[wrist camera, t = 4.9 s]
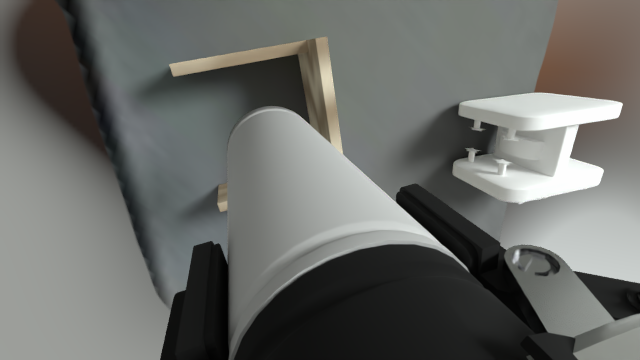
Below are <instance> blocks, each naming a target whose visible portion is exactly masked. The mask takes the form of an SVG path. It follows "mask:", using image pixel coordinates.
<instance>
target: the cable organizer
mask: <svg viewBox="0 0 640 360" xmlns="http://www.w3.org/2000/svg"><path fill="white" fill-rule="evenodd" d="M622 105H623V104H622V103H620V102H616V101H610V100H601V99H593V98H584V97H576V96H568V95H567V96H566V95H559V94H551V93H528V94H520V95H511V96H503V97H495V98H487V99H479V100H470V101H465V102H461V103H460V104H459V112H458V115H460V116H463V117H466V118H470V119H474V120H475V121H474V128H472V127H469V128H472V129H471V130H478V131H482V130H487V129H480V125H481V121H482V122H486V123H489V124H493V125H497V126H498V130H497V136H496V142H495V148H494V153H491V154H485V155H480V156H475V152H476V153H477V151H480V150H476V149H474V148H465V149H468V150H466V151H469V155H468V158H462V159H458V160H456V161H454V163H453V172H452V174H453V175H454V176H455V177H457V178H459V179H461V180H463V181H465V182H467V183H468V184H470V185H472V186H474V187H476V188H478V189H480V190H482V191H484V192H485V193H487V194H489V195H491V196H493V197H495V198H497V199H499V200H502V201H506V202H517V203H518V204H522V203H524V202H526V201H531V200H536V199H538V200H540V199H541V198H547V197H549V196H553V195H558V194H563V193H567V192H571V191H576V190H581V189H586V188H590V187H594V186H597V185H598V184H599V183H600V180H601V177H602V175H603V169H602V168H600V167H598V166H594V165H591V164H588V163H585V162H581V161H578V160H574V159H571V158H569V157H570V154H571V150H572V147H573V143H574V140H575V136H576V132H577V129H578V126H579V124H584V123H589V122H596V121H603V120H609V119H614V118H617V117H618V116H619V114H620V111H621V108H622Z"/></svg>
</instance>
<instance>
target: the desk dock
mask: <svg viewBox="0 0 640 360" xmlns="http://www.w3.org/2000/svg"><path fill="white" fill-rule="evenodd" d="M295 54H298V58H299V63H300V69H301V75H302V81H303V86H304V92H305V98H306V103H307V109H308V115H309V121H310V125H311V126H312V127H313V128H314V129H315V130H316V131H317V132H318V133H319V134H321V135H322V136H323V137H324V138H325V139H326V140H327V141H328V142H329V143H331V144H332V145H333V146H334V147H335V148H336V149H337V150H338V151H339V152H340V153H342V154H343V152H342V145H341V137H340V130H339V122H338V115H337V107H336V100H335V93H334V85H333V78H332V70H331V63H330V55H329V48H328V41H327V37H322V38H316V39H311V40H305V41H300V42H294V43H288V44H282V45H277V46H271V47H265V48H259V49H254V50H248V51H242V52H236V53H231V54H225V55H219V56H214V57H208V58H202V59H196V60H191V61H185V62H179V63H173V64H169V65H170V68H171V71H172V74H173V77H174V76H180V75H185V74H191V73H196V72H202V71H207V70H213V69H218V68H224V67H229V66H235V65H240V64H246V63H251V62H257V61H262V60H268V59H273V58H279V57H284V56H290V55H295ZM217 204H218V207H219V210H220V212H223V211H226V210H227V183H225V184H221V185H219V188H218V203H217Z"/></svg>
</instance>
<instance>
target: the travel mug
mask: <svg viewBox="0 0 640 360" xmlns="http://www.w3.org/2000/svg"><path fill="white" fill-rule="evenodd" d="M227 227H228V348H229V360H528V359H527V356H529V355H530V356H531V357H532V358H533V359H534V360H578V359H577V358H576V357H575V356H574V354H573V350H574V345H575V340H576V338H573V337H570V336H564V335H559V334H554V333H548V332H545V333H539V334H535V333H534V332H533V331H532V330H531V329H530V328H529V327H528V326H527V325H526V324H525V323H523V322H522V321H521V320H520V319H519V318H518V317H517V316H516V315H515V314H514V313H513V312H512V311H511V310H510V309H508V308H507V307H506V306H505V305H504V304H503V303H502V302H501V301H500V300H499V299H498V298H497V297H496V296H495V295H493V294H492V293H491V292H490V291H489V290H487V289H485V288H484V287H483V285H482V284H481V283H480V282H479V281H478V280H477V279H476V278H475V277H474V276H473V275H472V274H471V273H469V271H468V269H467V267H466V266H465V265H464V264H463V263H462V262H461V261H460V260H459V259H458V258H457V257H456V256H455V255H454V254H452V253H451V252H450V251H449V250H448V249H447V248H446V247H445V246H443V245H442V244H441V243H440V242H439V241H438V240H437V239H436V238H434V237H433V236H432V235H431V234H430V233H429V232H428V231H427V230H426V229H425V228H424V227H422V226H421V225H420V224H419V223H418V222H417V221H416V220H415V219H414V218H413V217H411V216H410V215H409V214H408V213H407V212H406V211H405V210H404V209H403V208H401V207H400V206H399V205H398V204H397V203H396V202H395V201H394V200H393V199H391V198H390V197H389V196H388V195H387V194H386V193H385V192H384V191H383V190H381V189H380V188H379V187H378V186H377V185H376V184H375V183H374V182H373V181H372V180H370V179H369V178H368V177H367V176H366V175H365V174H364V173H363V172H362V171H360V170H359V169H358V168H357V167H356V166H355V165H354V164H353V163H352V162H350V161H349V160H348V159H347V158H346V157H345V156H344V155H343V154H342V153H340V152H339V151H338V150H337V149H336V148H335V147H334V146H333V145H332V144H331V143H329V142H328V141H327V140H326V139H325V138H324V137H323V136H322V135H321V134H319V133H318V132H317V131H316V130H315V129H314V128H313V127H312V126H311V125H309V124H308V123H307V122H306V121H305V120H304V119H303V118H302V117H301V116H299V115H298V114H297V113H295V112H293V111H292V110H289V109H286V108H284V107H278V106H265V107H261V108H257V109H255V110H253V111H250V112H248V113H247V114H246V115H244V116H243V117H242V118H241V119H240V120H239V121H238V122H237V123H236V124H235V126H234V127H233V129H232V131H231V133H230V136H229V139H228V146H227Z"/></svg>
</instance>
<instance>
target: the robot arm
mask: <svg viewBox="0 0 640 360" xmlns="http://www.w3.org/2000/svg"><path fill="white" fill-rule="evenodd" d="M396 202H397V204H398V205H399V206H400V207H401V208H403V209H404V210H405V211H406V212H407V213H408V214H409V215H410V216H411V217H413V218H414V219H415V220H416V221H417V222H418V223H419V224H420V225H421V226H422V227H424V228H425V229H426V230H427V231H428V232H429V233H430V234H431V235H432V236H433V237H434V238H436V239H437V240H438V241H439V242H440V243H441V244H442V245H443V246H445V247H446V248H447V249H448V250H449V251H450V252H451V253H452V254H454V255H455V256H456V257H457V258H458V259H459V260H460V261H461V262H462V263H463V264H464V265H465V266H466V267H467V269H468V271H469V273H471V274H472V275H473V276H474V277H475V278H476V279H477V280H478V281H479V282H480V283H481V284H482V285H483V287H484V288H485V289H487V290H489V291H490V292H491V293H492V294H493V295H495V296H496V297H497V298H498V299H499V300H500V301H501V302H502V303H503V304H504V305H505V306H506V307H507V308H508V309H510V310H511V311H512V312H513V313H514V314H515V315H516V316H517V317H518V318H519V319H520V320H521V321H522V322H523V323H525V324H526V325H527V326H528V327H529V328H530V329H531V330H532V331H533V332H534V333H535V334H539V333H545V332H548V333H554V334H559V335H564V336H570V337H573V338H576V340H575V345H574V350H573V354H574V356H575V357H576V358H577V359H578V360H640V283H635V282H629V281H624V280H619V279H613V278H608V277H602V276H597V275H592V274H587V273H581V272H576V271H572V269H571V268H570V267H569V266H568V265H567V264H566V262H565V261H564V260H563V259H562V258H561V257H559V256H558V255H556V254H555V253H553V252H551V251H550V250H547V249H544V248H542V247H537V246H532V245H518V246H513V247H511V248H509V249H508V250H506V249H504V248H503V247H501V246H500V242H498V241H497V240H496V239H494V238H493V237H491V236H490V235H488V234H487V233H486V232H484V231H483V230H481V229H480V228H479V227H477V226H476V225H474V224H473V223H472V222H470V221H469V220H467V219H466V218H464V217H463V216H462V215H460V214H459V213H457V212H456V211H455V210H453V209H452V208H450V207H449V206H448V205H446V204H445V203H443V202H442V201H440V200H439V199H438V198H436V197H435V196H433V195H432V194H431V193H429V192H428V191H426V190H425V189H424V188H422V187H421V186H419V185H418V184H412V185H408V186H404V187H401V188H400V192H398V193H397V194H396ZM527 359H528V360H534V359H533V358H532V357H531V356H530V355H529V356H527ZM160 360H229V348H228V265H227V262H226V259H225V257H224V254H223V251H222V248H221V246H220V244H215V245H214V244H213V242H212V241H210V242H206V243H203V244H199V245H196V246H194V248H193V253H192V259H191V264H190V270H189V276H188V281H187V287H186V290H185V291H181V292H178V293H176V294H175V296H174V299H173V304H172V308H171V313H170V317H169V322H168V326H167V331H166V335H165V340H164V344H163V349H162V353H161V358H160Z"/></svg>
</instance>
